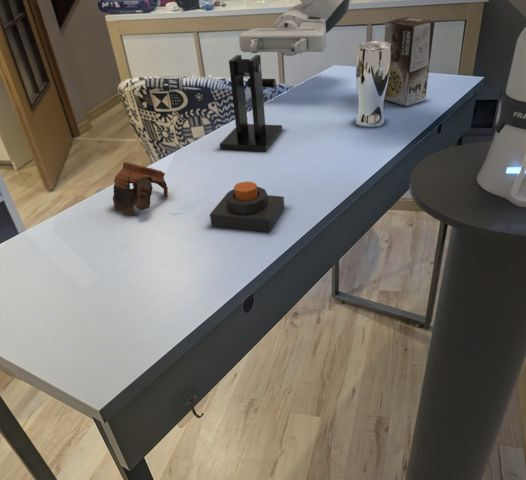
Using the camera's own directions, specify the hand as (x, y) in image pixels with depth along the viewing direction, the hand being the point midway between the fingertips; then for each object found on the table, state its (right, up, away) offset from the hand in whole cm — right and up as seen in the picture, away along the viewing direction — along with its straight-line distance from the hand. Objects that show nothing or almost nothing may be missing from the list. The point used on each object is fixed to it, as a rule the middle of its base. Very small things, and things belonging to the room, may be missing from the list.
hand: (273, 49), depth 115 cm
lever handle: (-4, -12, -9) cm, 15 cm away
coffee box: (+31, -7, +8) cm, 33 cm away
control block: (-5, -45, -30) cm, 54 cm away
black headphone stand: (-5, -22, -4) cm, 23 cm away
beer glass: (+21, -17, -1) cm, 27 cm away
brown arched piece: (-24, -41, -23) cm, 53 cm away
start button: (-5, -42, -32) cm, 53 cm away
